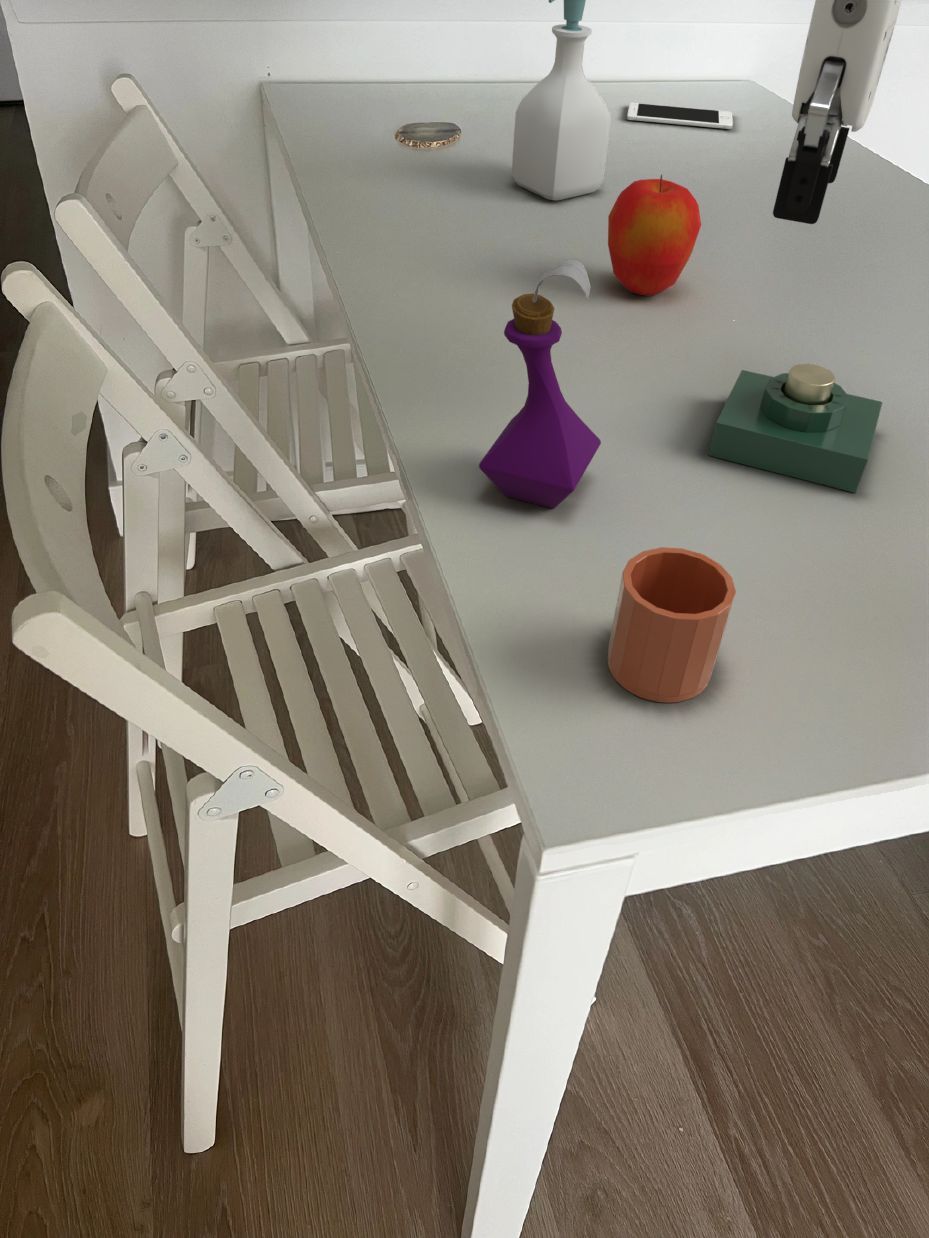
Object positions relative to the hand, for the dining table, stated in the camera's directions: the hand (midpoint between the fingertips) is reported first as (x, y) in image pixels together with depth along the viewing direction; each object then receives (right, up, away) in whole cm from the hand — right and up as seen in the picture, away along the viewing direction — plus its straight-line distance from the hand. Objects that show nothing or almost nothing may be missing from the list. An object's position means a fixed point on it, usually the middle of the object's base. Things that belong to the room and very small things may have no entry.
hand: (804, 199), depth 75 cm
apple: (-7, +3, +31) cm, 32 cm away
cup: (-13, -35, -12) cm, 39 cm away
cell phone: (+8, +46, +79) cm, 92 cm away
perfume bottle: (-20, -22, +3) cm, 30 cm away
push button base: (+2, -17, +9) cm, 19 cm away
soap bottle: (-14, +24, +54) cm, 60 cm away
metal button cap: (+2, -14, +6) cm, 15 cm away
